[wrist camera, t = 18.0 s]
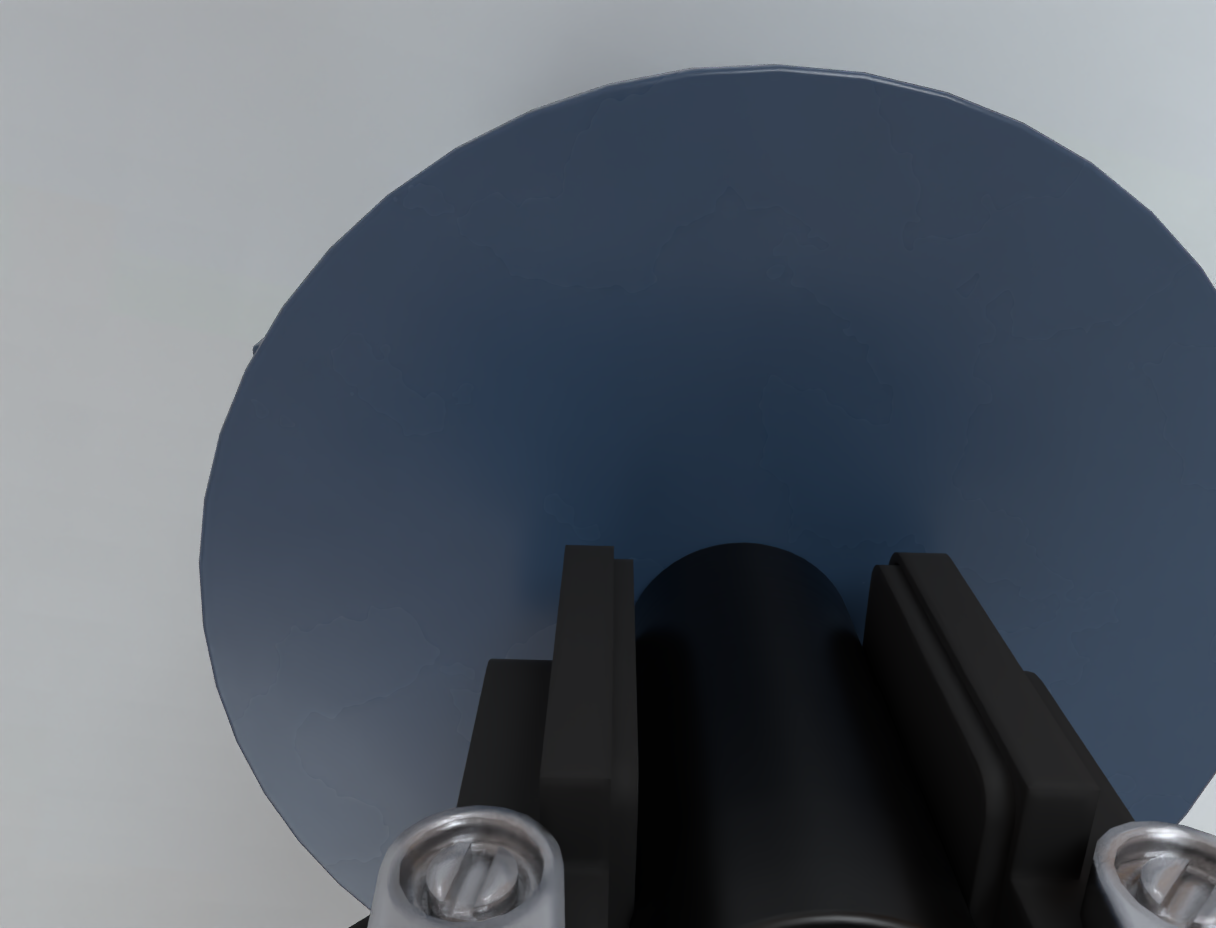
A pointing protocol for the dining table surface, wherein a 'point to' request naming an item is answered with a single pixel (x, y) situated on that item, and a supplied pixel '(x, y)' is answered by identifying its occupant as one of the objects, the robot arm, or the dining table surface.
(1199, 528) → the lid
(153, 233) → the dining table surface
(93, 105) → the dining table surface
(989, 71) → the dining table surface
